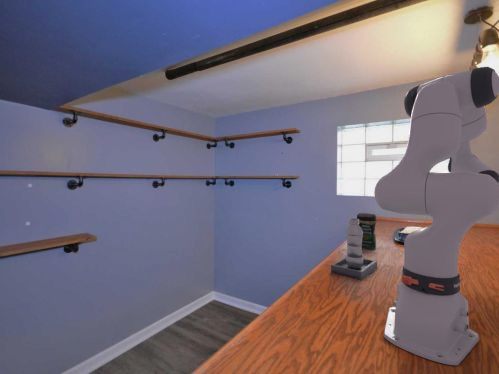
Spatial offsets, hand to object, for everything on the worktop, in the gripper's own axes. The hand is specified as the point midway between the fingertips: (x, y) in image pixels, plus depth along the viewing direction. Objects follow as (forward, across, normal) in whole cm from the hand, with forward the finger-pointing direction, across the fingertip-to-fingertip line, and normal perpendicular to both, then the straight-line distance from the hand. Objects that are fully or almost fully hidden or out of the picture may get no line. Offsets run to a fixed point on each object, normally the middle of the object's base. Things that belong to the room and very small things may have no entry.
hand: (407, 197), depth 101 cm
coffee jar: (+7, -33, +29) cm, 45 cm away
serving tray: (+20, +2, +30) cm, 36 cm away
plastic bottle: (+20, +2, +29) cm, 35 cm away
